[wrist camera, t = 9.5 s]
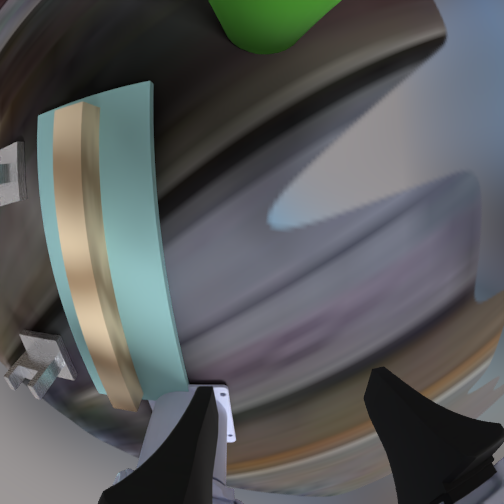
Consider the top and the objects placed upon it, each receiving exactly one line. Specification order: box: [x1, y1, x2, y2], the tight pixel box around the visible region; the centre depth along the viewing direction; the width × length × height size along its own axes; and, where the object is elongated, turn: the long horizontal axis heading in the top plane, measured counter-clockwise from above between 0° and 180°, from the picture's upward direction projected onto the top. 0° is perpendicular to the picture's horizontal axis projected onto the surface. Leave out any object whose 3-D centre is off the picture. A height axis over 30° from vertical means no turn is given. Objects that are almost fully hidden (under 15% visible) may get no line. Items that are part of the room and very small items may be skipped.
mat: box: [37, 81, 189, 401], centre depth 18 cm, size 26×10×1 cm, turn 2°
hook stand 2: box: [4, 330, 78, 400], centre depth 18 cm, size 5×6×6 cm
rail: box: [53, 101, 143, 412], centre depth 17 cm, size 24×2×2 cm, turn 1°
